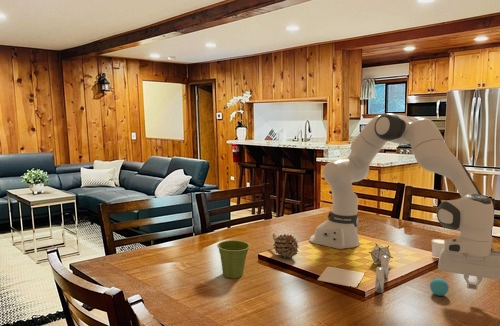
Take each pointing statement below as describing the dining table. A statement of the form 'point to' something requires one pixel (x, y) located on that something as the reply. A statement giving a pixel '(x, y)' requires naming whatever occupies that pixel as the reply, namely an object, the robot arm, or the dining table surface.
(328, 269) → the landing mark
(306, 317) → the dining table surface
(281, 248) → the pine cone
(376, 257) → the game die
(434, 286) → the ball
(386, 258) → the post
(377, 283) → the post
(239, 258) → the plant pot
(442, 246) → the white cylinder
